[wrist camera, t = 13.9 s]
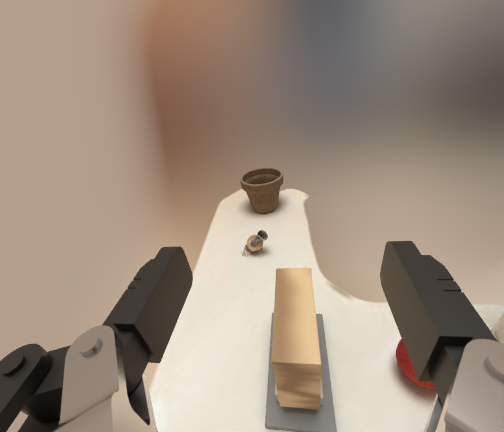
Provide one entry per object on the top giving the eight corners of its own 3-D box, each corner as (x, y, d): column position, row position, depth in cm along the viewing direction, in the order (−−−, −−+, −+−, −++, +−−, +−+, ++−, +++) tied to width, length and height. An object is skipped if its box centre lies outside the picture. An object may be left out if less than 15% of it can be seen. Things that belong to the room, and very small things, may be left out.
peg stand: (321, 317, 40) (322, 306, 39) (336, 435, 28) (337, 426, 27) (272, 315, 42) (271, 305, 40) (266, 428, 30) (263, 418, 28)
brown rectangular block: (311, 315, 38) (310, 268, 32) (320, 409, 28) (321, 364, 23) (281, 314, 39) (276, 268, 33) (279, 406, 29) (271, 361, 23)
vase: (274, 247, 57) (271, 227, 53) (263, 264, 53) (259, 244, 49) (253, 241, 59) (249, 222, 56) (242, 257, 56) (236, 237, 52)
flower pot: (258, 195, 78) (254, 164, 73) (292, 201, 72) (290, 168, 67) (237, 214, 70) (231, 181, 65) (273, 222, 65) (269, 187, 59)
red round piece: (386, 380, 32) (397, 346, 28) (398, 344, 35) (409, 308, 31) (441, 413, 28) (464, 379, 24) (448, 369, 32) (469, 333, 28)
